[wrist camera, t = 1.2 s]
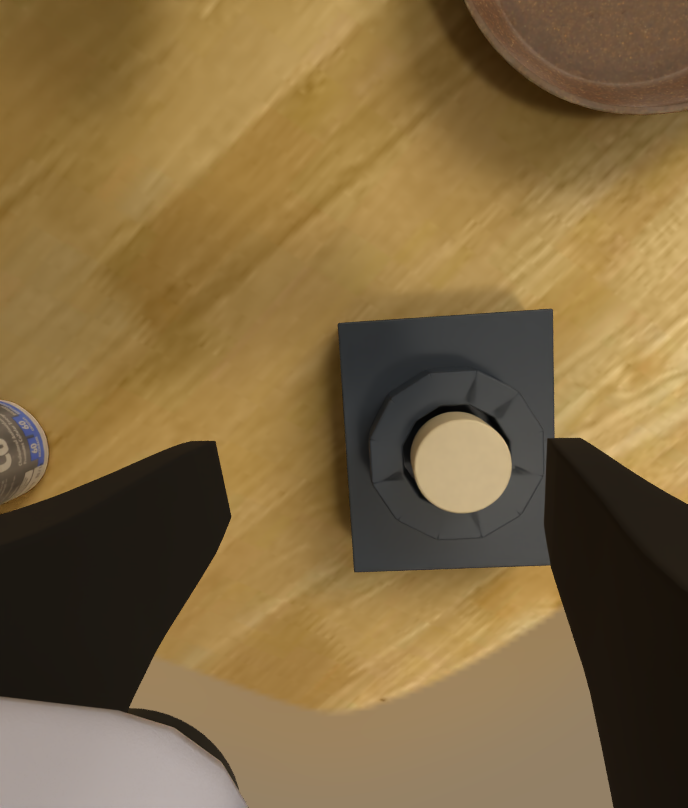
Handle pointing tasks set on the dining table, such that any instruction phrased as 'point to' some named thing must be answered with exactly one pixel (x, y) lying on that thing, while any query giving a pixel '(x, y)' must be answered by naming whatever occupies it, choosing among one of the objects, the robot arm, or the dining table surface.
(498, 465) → the cylindrical peg
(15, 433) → the pill bottle
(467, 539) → the dark knob button block
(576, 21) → the saucer
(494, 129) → the dining table surface
